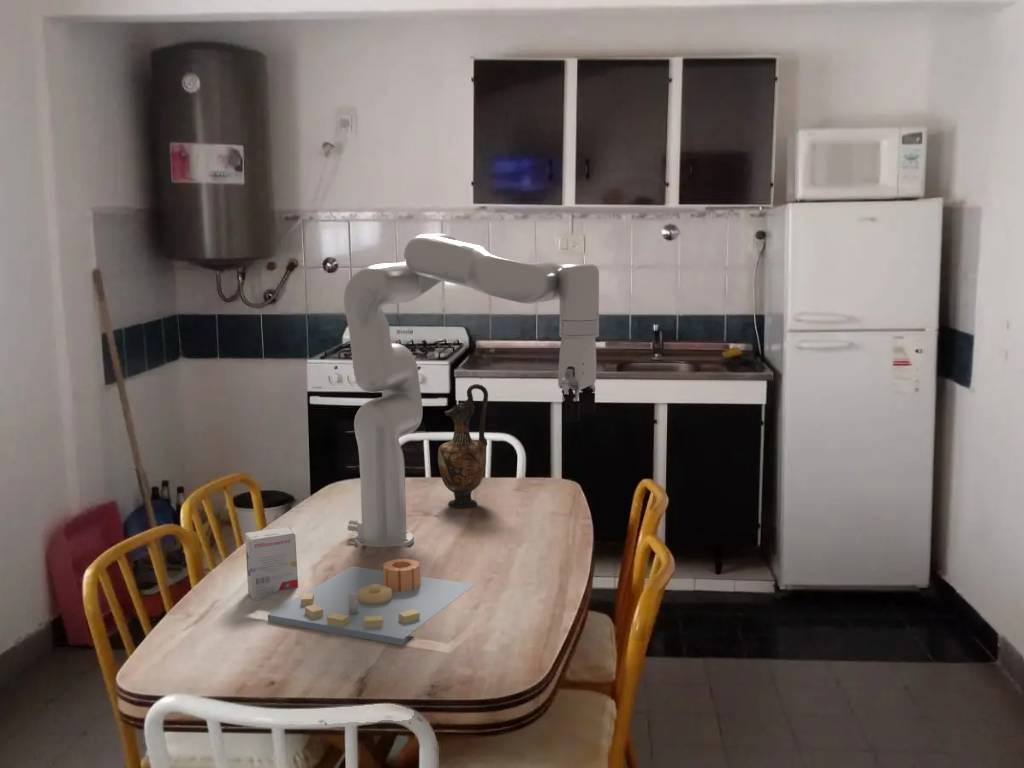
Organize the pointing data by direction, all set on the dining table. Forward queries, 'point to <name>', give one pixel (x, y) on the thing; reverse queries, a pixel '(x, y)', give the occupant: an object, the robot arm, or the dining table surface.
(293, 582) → the ink box
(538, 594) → the dining table surface
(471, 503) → the vase
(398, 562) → the planet gear
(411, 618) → the carrier board
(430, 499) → the dining table surface
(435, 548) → the dining table surface
